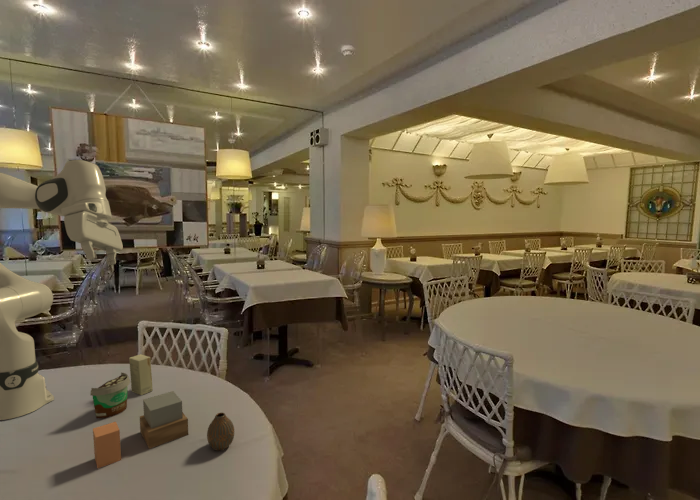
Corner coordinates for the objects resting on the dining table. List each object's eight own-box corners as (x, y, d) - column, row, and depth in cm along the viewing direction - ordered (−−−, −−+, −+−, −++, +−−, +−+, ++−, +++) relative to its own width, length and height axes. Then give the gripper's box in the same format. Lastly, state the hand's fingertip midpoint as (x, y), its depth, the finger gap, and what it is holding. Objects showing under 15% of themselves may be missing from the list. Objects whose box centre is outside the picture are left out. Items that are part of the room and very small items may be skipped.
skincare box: (153, 391, 132) (151, 357, 131) (140, 396, 128) (138, 361, 127) (143, 386, 135) (141, 353, 134) (130, 391, 132) (128, 357, 131)
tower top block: (144, 416, 107) (143, 399, 107) (173, 407, 112) (173, 390, 112) (151, 428, 101) (150, 410, 101) (182, 418, 106) (181, 401, 106)
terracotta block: (94, 458, 96) (92, 428, 95) (117, 450, 99) (115, 421, 98) (97, 468, 92) (95, 437, 91) (121, 460, 95) (119, 430, 95)
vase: (219, 457, 97) (218, 424, 96) (201, 448, 100) (200, 416, 99) (240, 443, 102) (239, 412, 102) (223, 435, 106) (222, 405, 105)
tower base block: (140, 433, 108) (139, 416, 107) (177, 420, 114) (176, 404, 114) (149, 450, 100) (148, 432, 100) (188, 435, 106) (187, 418, 106)
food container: (109, 423, 112) (107, 390, 111) (91, 420, 113) (89, 388, 112) (140, 402, 124) (138, 373, 123) (124, 400, 125) (122, 371, 124)
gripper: (102, 226, 116) (111, 270, 113) (55, 207, 95) (65, 259, 93) (123, 221, 116) (132, 264, 114) (81, 200, 96) (92, 252, 94)
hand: (102, 261), depth 104 cm, fingers open, 8 cm apart
